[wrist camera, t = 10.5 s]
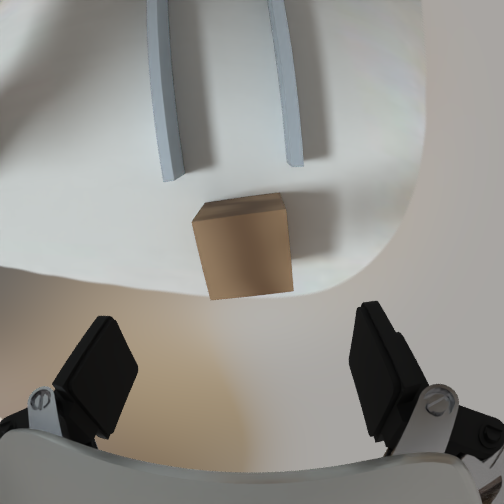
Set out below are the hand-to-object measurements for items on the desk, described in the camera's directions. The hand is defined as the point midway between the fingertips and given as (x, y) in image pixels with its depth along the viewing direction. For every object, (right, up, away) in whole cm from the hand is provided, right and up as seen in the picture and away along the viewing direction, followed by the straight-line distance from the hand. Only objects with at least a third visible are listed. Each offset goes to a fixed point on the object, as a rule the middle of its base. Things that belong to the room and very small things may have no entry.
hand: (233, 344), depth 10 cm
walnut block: (0, +5, +13) cm, 14 cm away
